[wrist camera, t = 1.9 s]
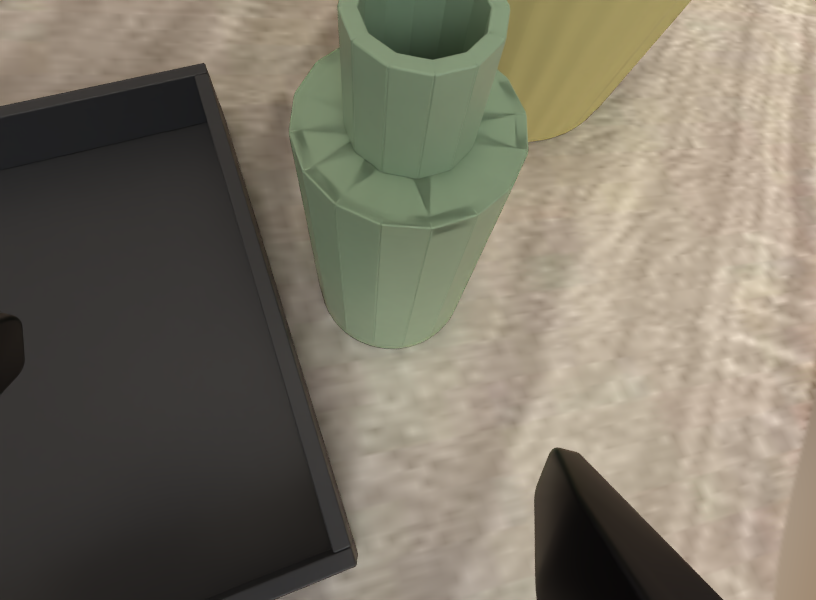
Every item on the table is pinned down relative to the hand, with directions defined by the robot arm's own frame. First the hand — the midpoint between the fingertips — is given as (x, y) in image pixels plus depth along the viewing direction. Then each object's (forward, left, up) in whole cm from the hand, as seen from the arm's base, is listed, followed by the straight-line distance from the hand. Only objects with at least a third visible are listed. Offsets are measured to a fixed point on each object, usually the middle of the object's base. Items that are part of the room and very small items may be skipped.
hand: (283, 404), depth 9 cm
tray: (+7, +9, -13) cm, 17 cm away
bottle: (+6, -5, -13) cm, 16 cm away
